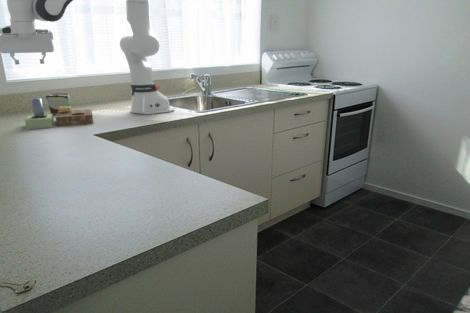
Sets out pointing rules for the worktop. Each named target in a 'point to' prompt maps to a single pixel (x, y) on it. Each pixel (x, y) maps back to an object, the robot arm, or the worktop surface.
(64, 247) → the worktop surface
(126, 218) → the worktop surface
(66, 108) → the yellow square block
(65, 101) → the food container
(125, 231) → the worktop surface
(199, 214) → the worktop surface
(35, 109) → the peg
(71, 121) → the socket block
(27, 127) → the square ring
